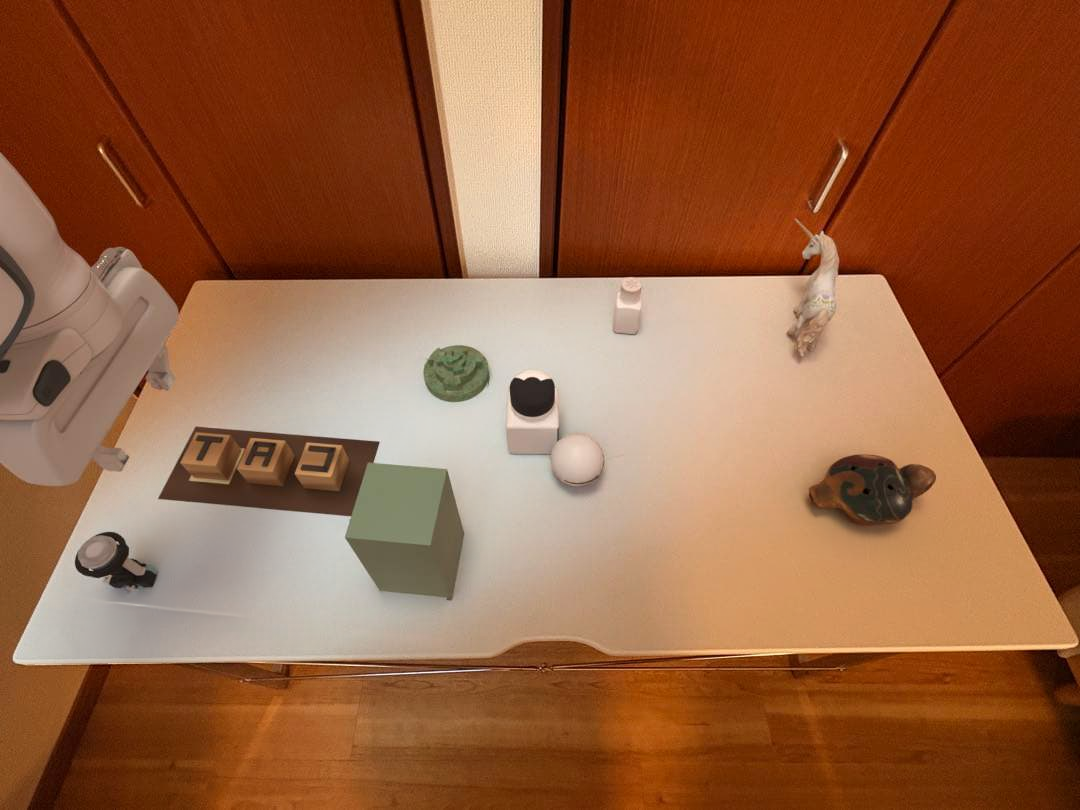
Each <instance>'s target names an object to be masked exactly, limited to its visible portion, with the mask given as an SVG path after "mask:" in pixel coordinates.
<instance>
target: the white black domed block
mask: <svg viewBox="0 0 1080 810" xmlns="http://www.w3.org/2000/svg"><path fill="white" fill-rule="evenodd" d="M559 395H560V393H559V387H558V386H556V384H555V381H554V380H553V378H552V377H551V376H550V375H549V374H547V373H545V372H543V371H541V370H537V369H528V370H524V371H522V372H521V371H520V372H519V373H518V374H516V375H515V376H514V377H513V378H512V380H511V381H510V384H509V386H508V389H507V403H506V404H507V406H506V422H505V423H506V424H505V428H506V436H507V437H506V439H507V449H508V453H509V454H511V455H551V453H552V450H553V447H554V446H555V444H556V442H558V441H559V438H560V437H559V435H560V433H559V431H560V417H559V416H560V415H559V414H560V410H559V409H560V407H559V406H560V402H559V401H560V400H559Z"/></svg>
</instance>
